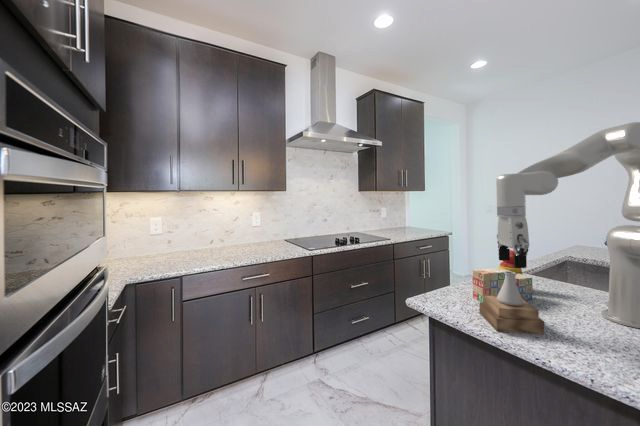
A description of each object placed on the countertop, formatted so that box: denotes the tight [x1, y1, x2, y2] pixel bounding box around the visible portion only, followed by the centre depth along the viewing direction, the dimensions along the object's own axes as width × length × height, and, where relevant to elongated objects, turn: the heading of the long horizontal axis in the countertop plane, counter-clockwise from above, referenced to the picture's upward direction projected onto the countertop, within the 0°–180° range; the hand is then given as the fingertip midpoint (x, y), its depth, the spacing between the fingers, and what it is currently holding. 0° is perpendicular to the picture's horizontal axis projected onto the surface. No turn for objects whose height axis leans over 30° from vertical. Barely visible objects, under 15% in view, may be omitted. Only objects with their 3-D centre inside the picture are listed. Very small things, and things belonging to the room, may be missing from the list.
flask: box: [496, 271, 524, 306], centre depth 86 cm, size 7×7×10 cm
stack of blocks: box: [472, 267, 534, 303], centre depth 106 cm, size 21×6×12 cm, turn 96°
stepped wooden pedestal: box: [478, 295, 545, 335], centre depth 86 cm, size 13×13×7 cm
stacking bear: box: [497, 249, 524, 275], centre depth 117 cm, size 11×10×18 cm
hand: (511, 263), depth 85 cm, fingers open, 9 cm apart
